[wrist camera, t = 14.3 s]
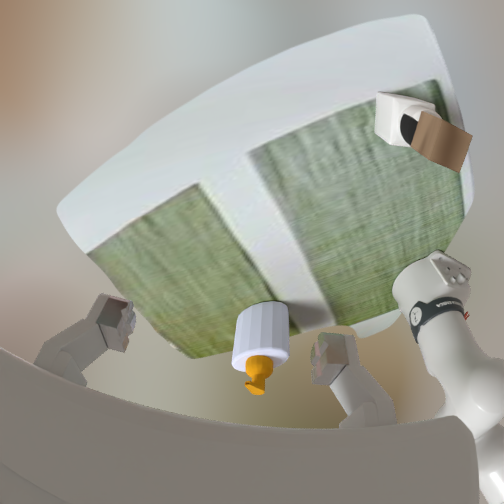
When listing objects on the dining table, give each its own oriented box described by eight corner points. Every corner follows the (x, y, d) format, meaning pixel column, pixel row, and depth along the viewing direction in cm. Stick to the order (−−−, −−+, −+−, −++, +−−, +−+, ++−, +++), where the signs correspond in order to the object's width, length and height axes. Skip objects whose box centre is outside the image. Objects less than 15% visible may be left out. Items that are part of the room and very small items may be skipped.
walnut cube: (451, 124, 27) (472, 135, 23) (439, 158, 30) (459, 173, 26) (421, 110, 27) (442, 119, 23) (410, 146, 30) (428, 159, 26)
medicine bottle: (411, 137, 39) (447, 162, 30) (373, 133, 40) (403, 156, 30) (415, 97, 35) (454, 111, 26) (375, 91, 36) (408, 101, 26)
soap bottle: (277, 293, 62) (276, 375, 46) (295, 314, 66) (298, 392, 50) (229, 313, 67) (217, 389, 51) (248, 332, 71) (242, 404, 55)
